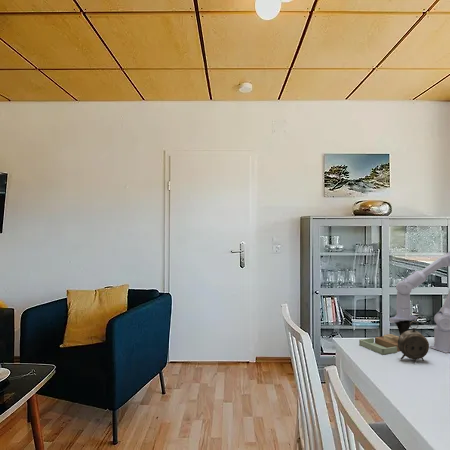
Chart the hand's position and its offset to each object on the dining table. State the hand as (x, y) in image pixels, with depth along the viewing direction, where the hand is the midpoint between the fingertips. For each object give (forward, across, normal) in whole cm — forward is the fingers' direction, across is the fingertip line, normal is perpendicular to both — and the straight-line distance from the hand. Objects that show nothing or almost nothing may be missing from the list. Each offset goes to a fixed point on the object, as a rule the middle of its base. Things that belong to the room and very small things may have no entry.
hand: (403, 337), depth 172 cm
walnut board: (+4, +6, 0) cm, 7 cm away
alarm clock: (+4, +13, +17) cm, 22 cm away
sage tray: (+4, +15, 0) cm, 16 cm away
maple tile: (+1, +7, 0) cm, 7 cm away
